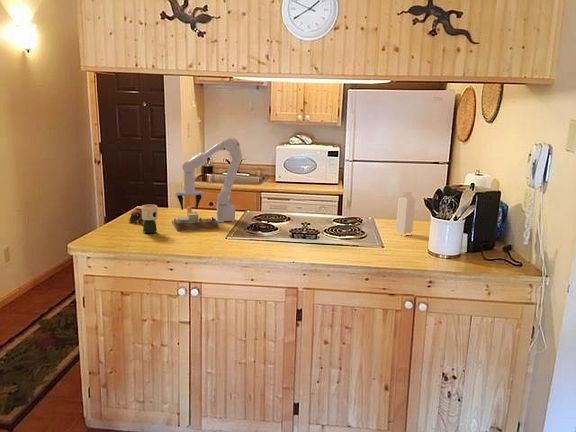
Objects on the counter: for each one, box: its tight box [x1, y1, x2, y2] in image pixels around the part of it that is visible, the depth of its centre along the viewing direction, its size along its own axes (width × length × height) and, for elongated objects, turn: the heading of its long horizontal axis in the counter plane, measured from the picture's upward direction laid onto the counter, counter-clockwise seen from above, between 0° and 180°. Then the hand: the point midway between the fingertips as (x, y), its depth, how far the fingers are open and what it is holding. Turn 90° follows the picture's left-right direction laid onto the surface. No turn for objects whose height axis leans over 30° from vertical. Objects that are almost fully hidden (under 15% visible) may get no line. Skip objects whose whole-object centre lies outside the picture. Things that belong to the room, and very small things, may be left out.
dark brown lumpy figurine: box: [128, 207, 144, 225], centre depth 257 cm, size 12×10×8 cm
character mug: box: [141, 204, 158, 234], centre depth 237 cm, size 11×7×13 cm, turn 0°
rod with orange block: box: [186, 206, 199, 222], centre depth 263 cm, size 5×14×5 cm, turn 21°
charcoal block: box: [177, 216, 189, 223], centre depth 249 cm, size 5×6×4 cm
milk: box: [395, 191, 417, 234], centre depth 253 cm, size 6×6×22 cm
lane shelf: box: [171, 216, 220, 232], centre depth 255 cm, size 20×18×4 cm
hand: (189, 209), depth 268 cm, fingers open, 7 cm apart
